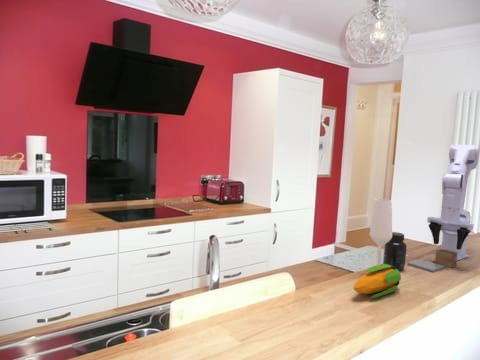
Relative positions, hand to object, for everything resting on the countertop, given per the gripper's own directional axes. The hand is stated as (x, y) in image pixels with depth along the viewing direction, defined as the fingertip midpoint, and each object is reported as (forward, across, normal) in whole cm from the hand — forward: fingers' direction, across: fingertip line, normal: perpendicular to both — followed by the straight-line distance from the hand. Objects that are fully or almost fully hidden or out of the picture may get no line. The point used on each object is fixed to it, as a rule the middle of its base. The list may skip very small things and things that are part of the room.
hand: (447, 246), depth 133 cm
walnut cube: (+7, 0, 0) cm, 7 cm away
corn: (+7, +1, -45) cm, 45 cm away
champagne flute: (+7, -7, -31) cm, 32 cm away
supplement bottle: (+7, -8, -20) cm, 23 cm away
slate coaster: (+7, -3, -8) cm, 11 cm away
